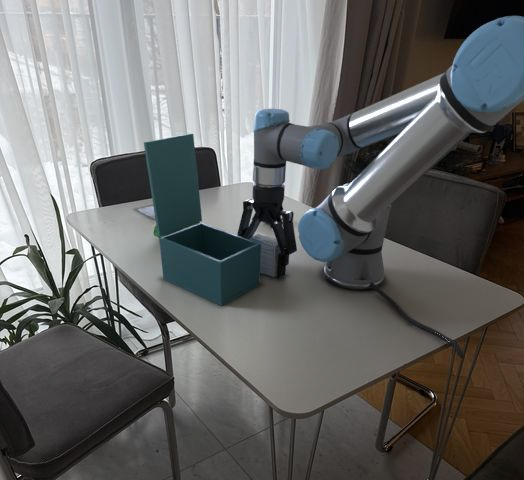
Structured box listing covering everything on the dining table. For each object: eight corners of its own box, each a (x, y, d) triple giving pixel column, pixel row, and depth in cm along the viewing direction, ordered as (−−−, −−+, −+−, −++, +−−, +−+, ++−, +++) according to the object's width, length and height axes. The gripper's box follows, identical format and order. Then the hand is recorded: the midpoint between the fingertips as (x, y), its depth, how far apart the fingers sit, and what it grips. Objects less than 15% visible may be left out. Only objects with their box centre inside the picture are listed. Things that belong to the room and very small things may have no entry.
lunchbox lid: (193, 133, 109) (191, 133, 109) (145, 142, 100) (143, 142, 100) (202, 220, 120) (200, 220, 120) (160, 236, 111) (157, 235, 111)
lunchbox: (259, 284, 117) (261, 243, 111) (221, 306, 108) (220, 262, 102) (202, 261, 126) (201, 222, 120) (163, 279, 117) (159, 237, 111)
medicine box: (282, 271, 123) (284, 240, 118) (273, 278, 120) (275, 246, 115) (256, 263, 126) (258, 233, 121) (247, 269, 123) (248, 238, 118)
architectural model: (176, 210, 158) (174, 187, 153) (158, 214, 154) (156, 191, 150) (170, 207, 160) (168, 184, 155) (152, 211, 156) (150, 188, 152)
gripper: (317, 190, 107) (308, 278, 120) (242, 170, 118) (241, 253, 131) (298, 197, 102) (291, 288, 115) (222, 176, 113) (223, 261, 126)
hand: (265, 270), depth 123 cm, fingers open, 10 cm apart
